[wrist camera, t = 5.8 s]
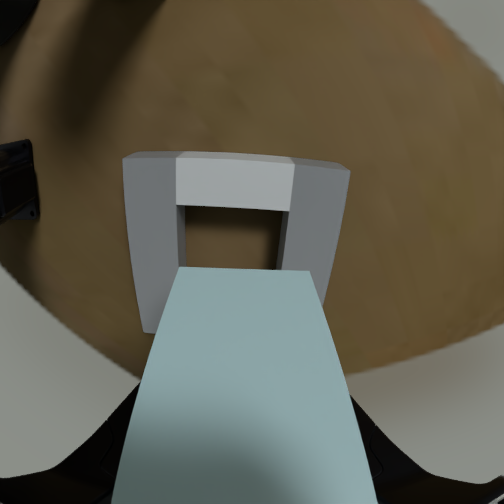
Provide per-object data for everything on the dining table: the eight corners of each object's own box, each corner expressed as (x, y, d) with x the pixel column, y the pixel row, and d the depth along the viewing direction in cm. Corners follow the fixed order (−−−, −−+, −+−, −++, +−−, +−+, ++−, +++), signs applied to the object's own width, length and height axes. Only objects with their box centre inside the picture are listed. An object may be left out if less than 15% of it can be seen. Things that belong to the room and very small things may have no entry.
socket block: (151, 312, 23) (143, 332, 21) (137, 151, 17) (122, 158, 15) (307, 321, 24) (312, 342, 22) (338, 162, 18) (350, 171, 16)
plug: (191, 369, 13) (167, 573, 4) (179, 266, 10) (100, 574, 2) (289, 372, 13) (314, 574, 4) (309, 270, 10) (391, 573, 2)
